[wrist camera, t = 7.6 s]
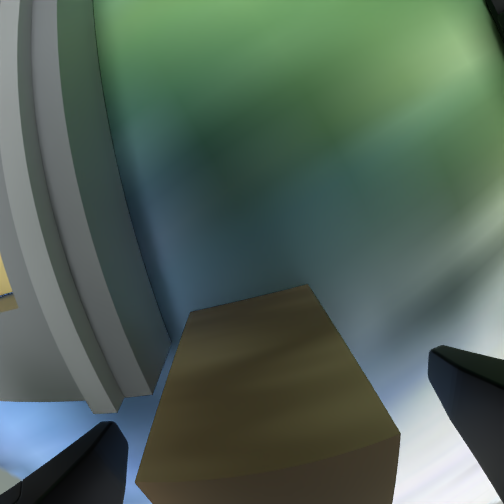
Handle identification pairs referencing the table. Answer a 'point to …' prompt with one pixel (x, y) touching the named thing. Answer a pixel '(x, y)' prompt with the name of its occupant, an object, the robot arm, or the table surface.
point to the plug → (268, 412)
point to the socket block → (66, 223)
